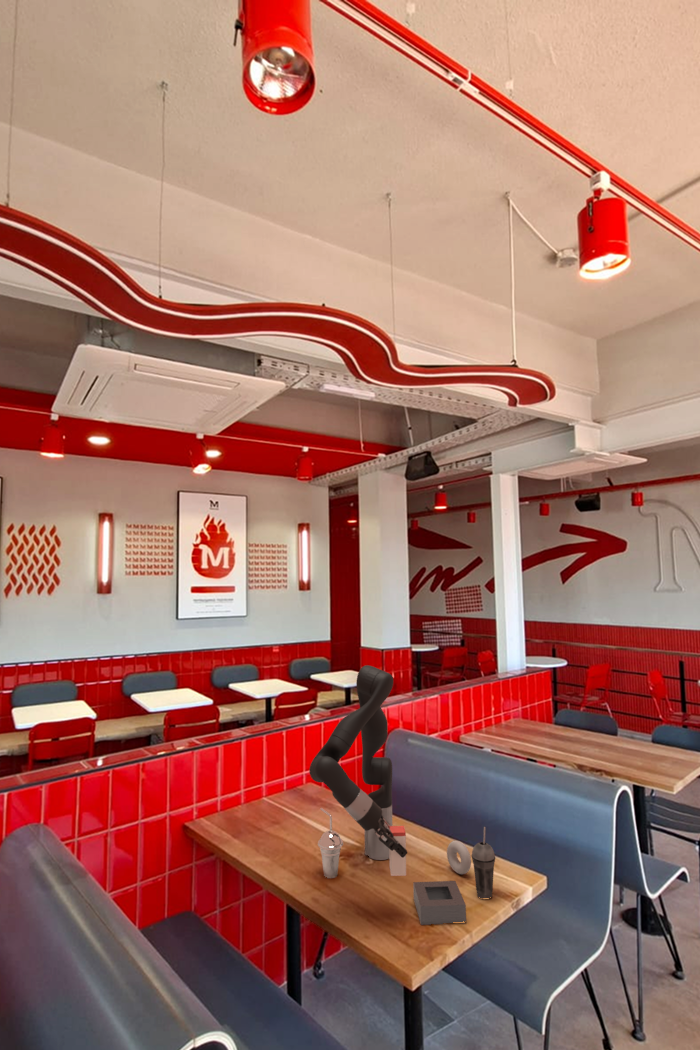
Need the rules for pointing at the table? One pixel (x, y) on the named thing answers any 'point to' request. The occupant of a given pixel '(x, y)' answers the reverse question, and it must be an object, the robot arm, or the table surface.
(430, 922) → the square socket housing
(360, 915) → the table surface
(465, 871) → the donut
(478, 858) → the beverage cup
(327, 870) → the cup with straw
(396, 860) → the plug peg
